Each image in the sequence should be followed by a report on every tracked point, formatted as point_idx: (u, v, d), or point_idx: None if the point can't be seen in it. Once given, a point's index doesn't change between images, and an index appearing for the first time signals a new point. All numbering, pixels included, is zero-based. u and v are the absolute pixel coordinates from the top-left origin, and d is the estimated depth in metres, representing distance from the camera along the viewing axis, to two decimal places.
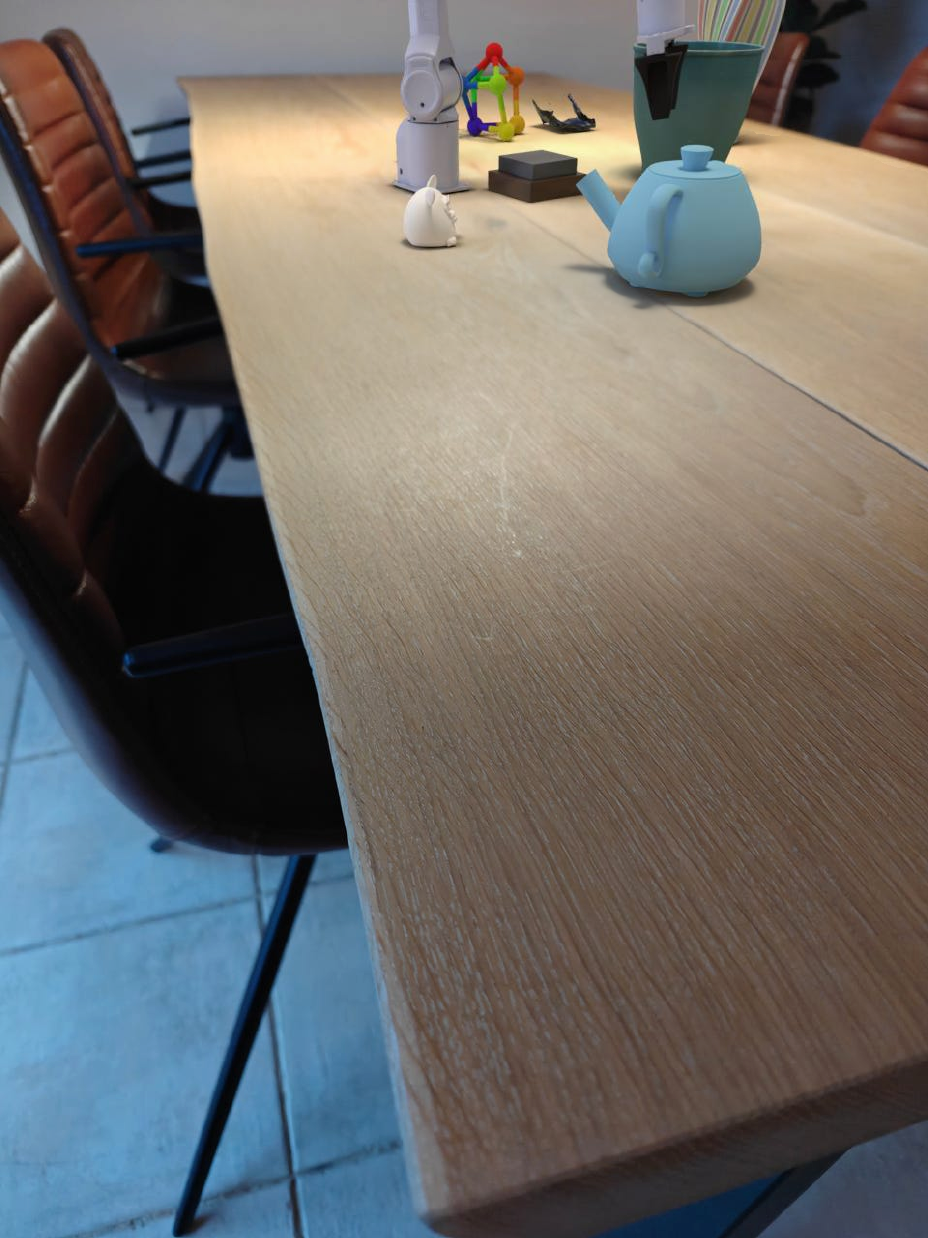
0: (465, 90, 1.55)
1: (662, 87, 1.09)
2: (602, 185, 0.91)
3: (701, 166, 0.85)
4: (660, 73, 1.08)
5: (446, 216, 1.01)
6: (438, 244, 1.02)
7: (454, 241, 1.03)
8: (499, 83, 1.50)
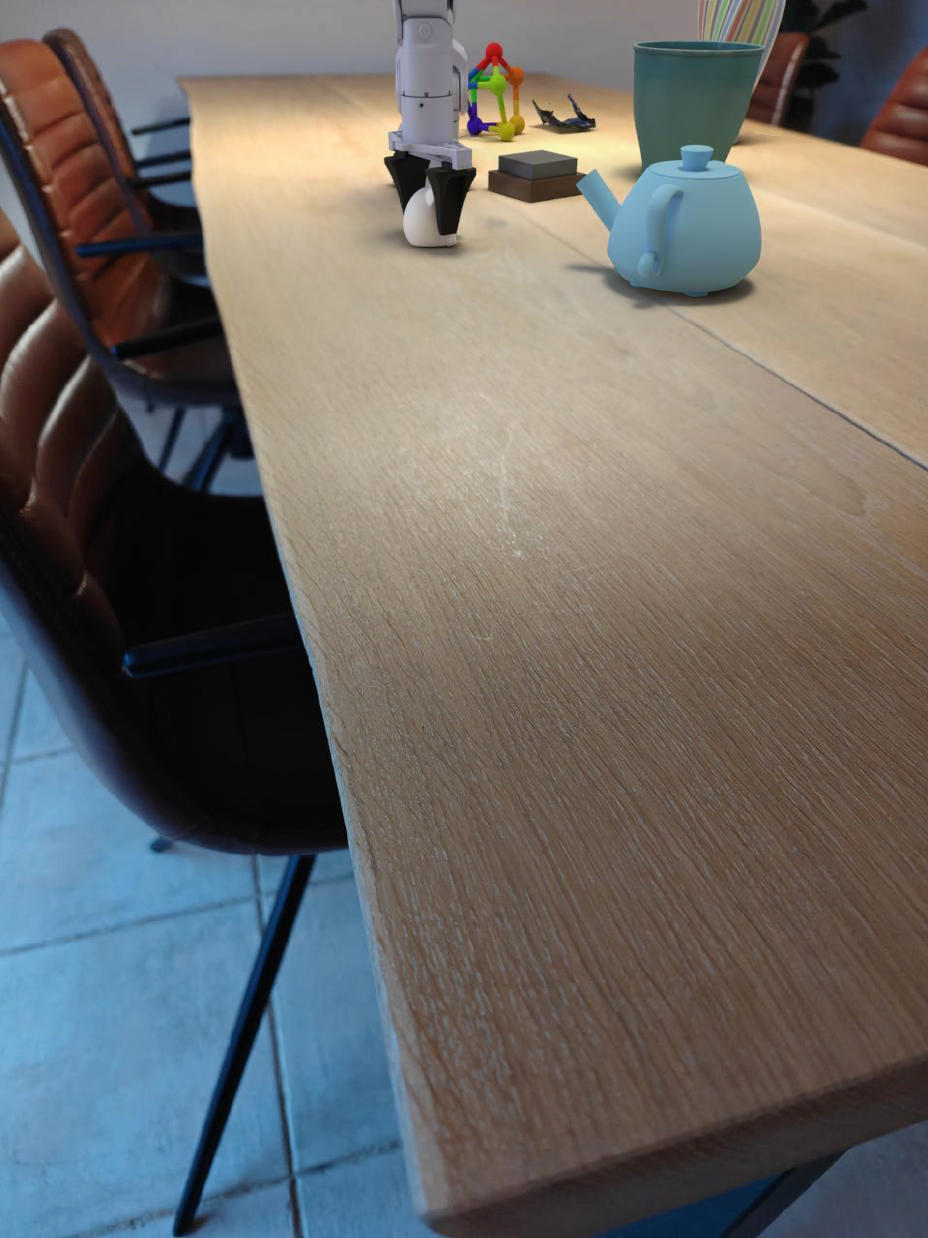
0: None
1: None
2: (602, 185, 0.91)
3: (701, 166, 0.85)
4: None
5: None
6: (438, 244, 1.02)
7: (454, 241, 1.03)
8: (499, 83, 1.50)
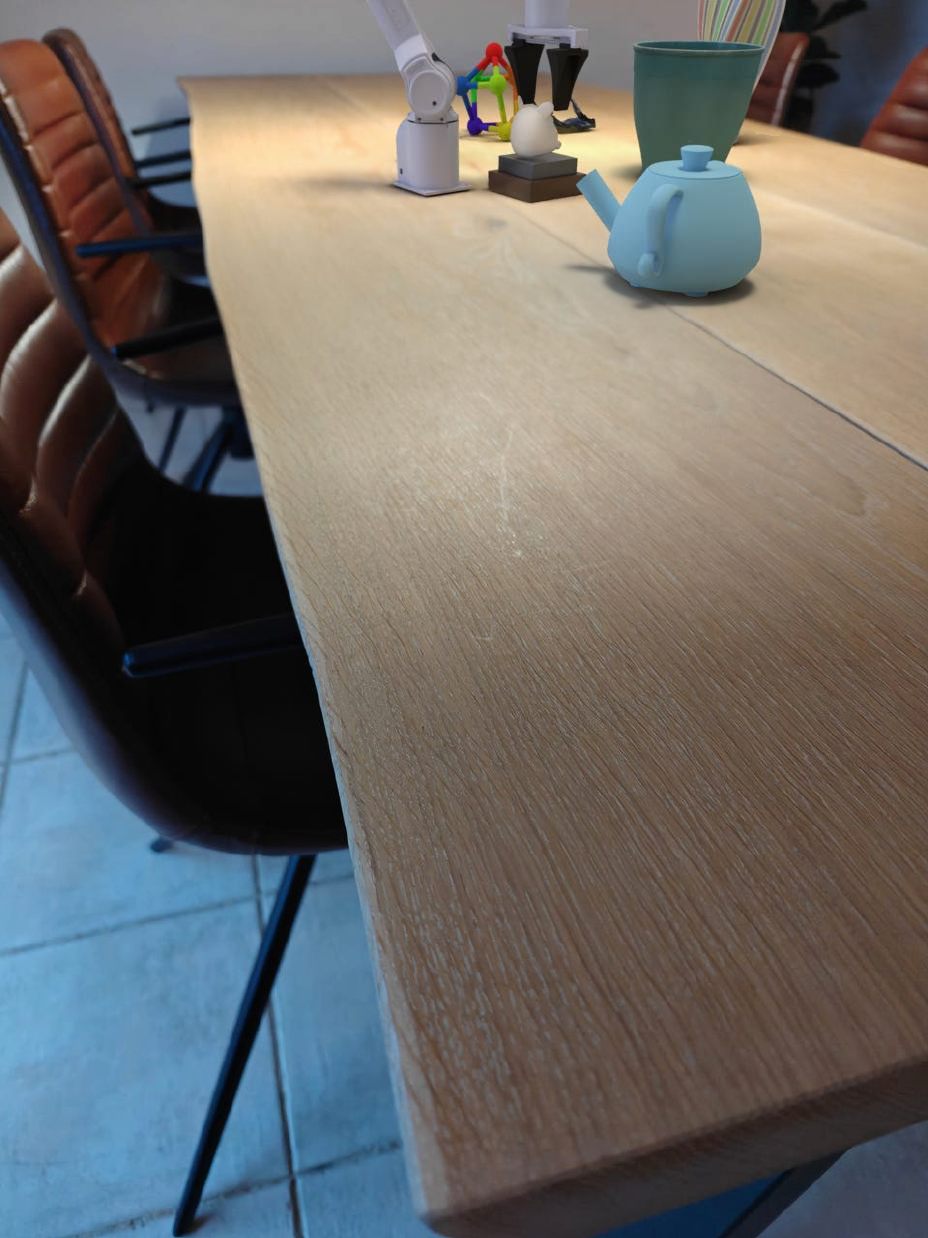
0: (465, 90, 1.55)
1: (567, 80, 1.16)
2: (602, 185, 0.91)
3: (701, 166, 0.85)
4: (566, 66, 1.15)
5: (553, 123, 1.20)
6: (553, 149, 1.21)
7: (560, 143, 1.22)
8: (499, 83, 1.50)
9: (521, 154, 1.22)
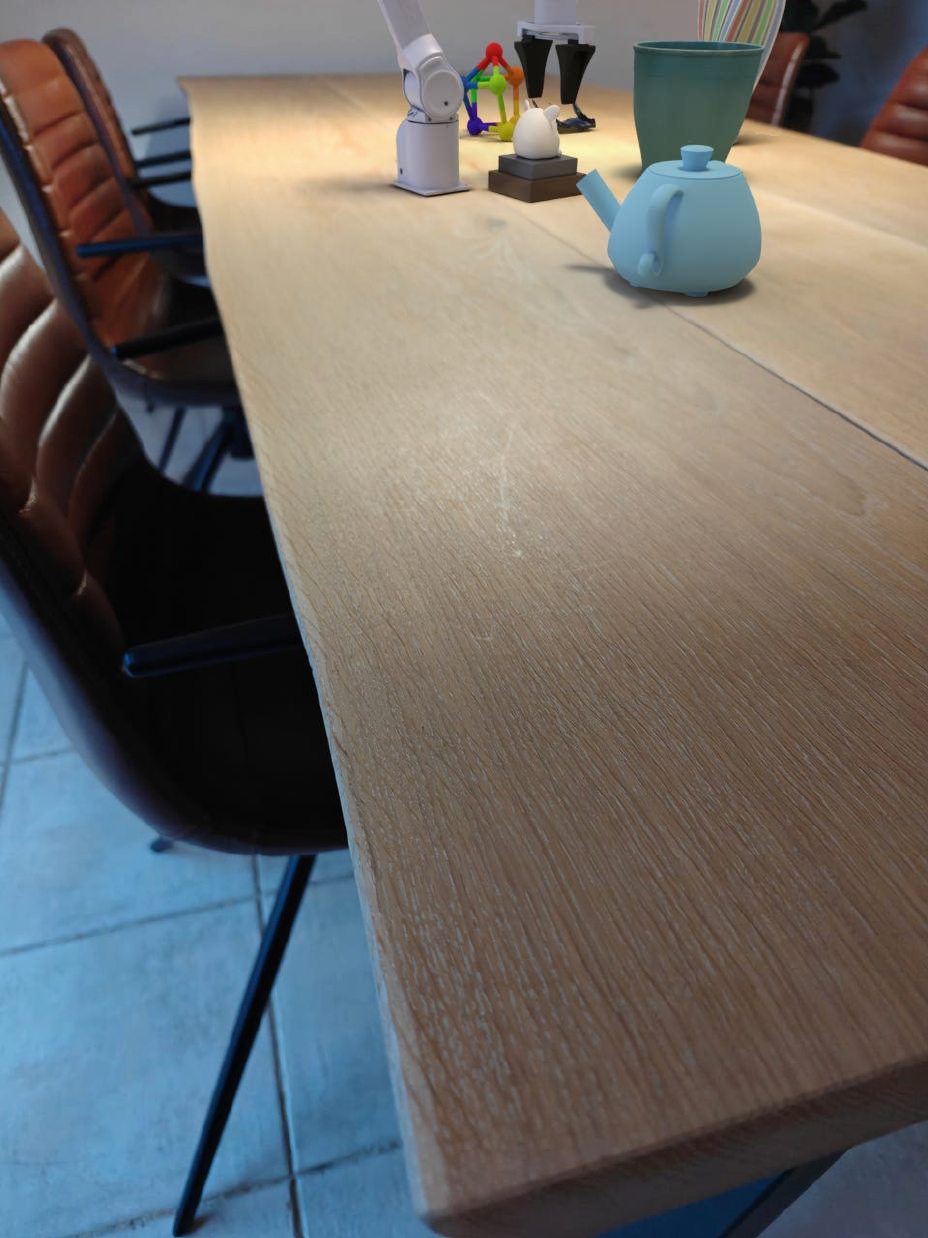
0: (465, 90, 1.55)
1: (574, 75, 1.21)
2: (602, 185, 0.91)
3: (701, 166, 0.85)
4: (574, 62, 1.20)
5: (557, 130, 1.21)
6: (553, 155, 1.22)
7: (561, 151, 1.23)
8: (499, 83, 1.50)
9: (522, 154, 1.22)
